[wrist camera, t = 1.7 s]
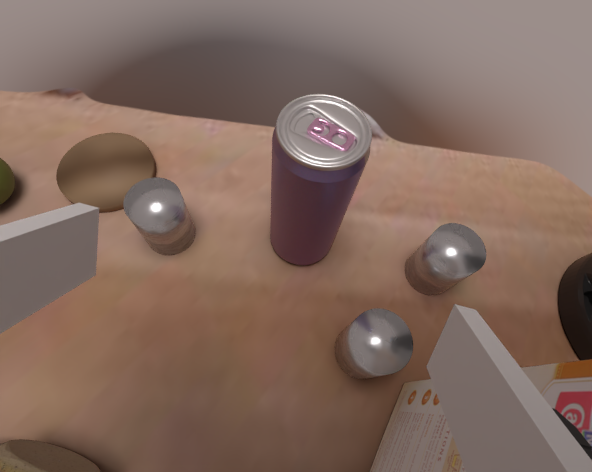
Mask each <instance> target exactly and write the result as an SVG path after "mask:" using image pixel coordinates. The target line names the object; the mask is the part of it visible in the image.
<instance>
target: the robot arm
mask: <svg viewBox="0 0 592 472" xmlns="http://www.w3.org/2000/svg"><path fill="white" fill-rule="evenodd" d="M98 223H99V208H97V207H94V206H90V205H86V204H83V203H76V204H73V205H69V206H66V207H63V208H59V209H56V210H52V211H49V212H45V213H42V214H39V215H35V216H32V217H28V218H25V219H22V220H18V221H15V222H11V223H8V224H4V225H1V226H0V334H1V333H2V332H4V331H5V330H7V329H9V328H10V327H12V326H14V325H15V324H17V323H19V322H20V321H22V320H23V319H25V318H27V317H28V316H30V315H32V314H33V313H35V312H36V311H38V310H40V309H41V308H43V307H45V306H46V305H48V304H49V303H51V302H53V301H54V300H56V299H58V298H59V297H61V296H63V295H64V294H66V293H67V292H69V291H71V290H72V289H74V288H76V287H77V286H79V285H80V284H82V283H84V282H85V281H87V280H89V279H90V278H92V277H93V276H95V275H96V261H97V242H98ZM559 309H560V315H561V319H562V323H563V326H564V329H565V331H566V334H567V336H568V338H569V340H570V343H571V344H572V346H573V348H574V350H575V351H576V353H577V355H578V356H579V357H580V359H581V360H590V359H592V253H591V254H588V255H586V256H584V257H582V258H580V259H578V260H577V261H575V262H574V263H573V264H572V265H571V266H570V267H569V268H568V269H567V271H566V272H565V274H564V276H563V278H562V281H561V284H560V289H559ZM426 367H427V370H428V372H429V375H430V378H431V380H432V383H433V386H434V388H435V391H436V394H437V396H438V399H439V401H440V404H441V407H442V409H443V412H444V415H445V417H446V420H447V423H448V425H449V428H450V431H451V433H452V436H453V439H454V441H455V444H456V446H457V449H458V452H459V454H460V457H461V460H462V462H463V465H464V468H465V470H466V472H592V446H591V445H590V444H589V443H588V441H587V440H586V439H585V438H584V437H583V435H582V434H581V433H580V432H579V430H578V429H577V428H576V427H575V426H574V425H573V424H572V423H571V422H569V421H568V420H567V419H566V418H565V417H564V416H563V415H562V414H560V413H559V412H558V411H557V410H556V409H554V408H551V407H550V405H549V404H548V403H547V401H546V400H545V399H544V398H543V396H542V395H541V394H540V392H539V391H538V390H537V388H536V387H535V386H534V385H533V383H532V382H531V381H530V379H529V378H528V377H527V375H526V374H525V373H524V372H523V370H522V369H521V368H520V366H519V365H518V364H517V362H516V361H515V360H514V359H513V357H512V356H511V355H510V353H509V352H508V351H507V349H506V348H505V347H504V346H503V344H502V343H501V342H500V340H499V339H498V338H497V336H496V335H495V334H494V333H493V331H492V330H491V329H490V327H489V326H488V325H487V323H486V322H485V321H484V320H483V318H482V317H481V316H480V314H479V313H478V312H477V310H475V309H471V308H467V307H464V306H460V305H456V304H454V307H453V309H452V311H451V313H450V315H449V318H448V320H447V322H446V324H445V326H444V329H443V331H442V333H441V335H440V338H439V340H438V342H437V344H436V346H435V349H434V351H433V353H432V355H431V357H430V360H429V362H428V364H427V366H426Z"/></svg>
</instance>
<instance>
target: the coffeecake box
mask: <svg viewBox="0 0 592 472" xmlns="http://www.w3.org/2000/svg"><path fill="white" fill-rule="evenodd" d="M521 369H522V370H523V372H524V373H525V374H526V375H527V377H528V378H529V379H530V381H531V382H532V383H533V385H534V386H535V387H536V388H537V390H538V391H539V392H540V394H541V395H542V396H543V398H544V399H545V400H546V401H547V403H548V404H549V405H550V407H551V408H554V409H556V410H557V411H558V412H559V413H560V414H562V415H563V416H564V417H565V418H566V419H567V420H568V421H569V422H571V423H572V424H573V425H574V426H575V427H576V428H577V429H578V430H579V432H580V433H581V434H582V435H583V437H584V438H585V439H586V440H587V441H588V443H589V444H590V445H591V446H592V359H590V360H582V361H574V362H565V363H554V364H547V365H540V366H532V367H524V368H521ZM370 472H466V470H465V468H464V465H463V462H462V460H461V457H460V454H459V452H458V449H457V446H456V444H455V441H454V439H453V436H452V433H451V431H450V428H449V425H448V423H447V420H446V417H445V415H444V412H443V409H442V407H441V404H440V401H439V399H438V396H437V394H436V391H435V388H434V386H433V383H432V380H431V379H428V380H420V381H413V382H406V383H404V385H403V387H402V390H401V392H400V395H399V397H398V400H397V402H396V405H395V407H394V410H393V412H392V415H391V417H390V420H389V422H388V425H387V428H386V430H385V433H384V435H383V438H382V441H381V443H380V446H379V449H378V451H377V454H376V457H375V459H374V462H373V464H372V467H371V469H370Z"/></svg>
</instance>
